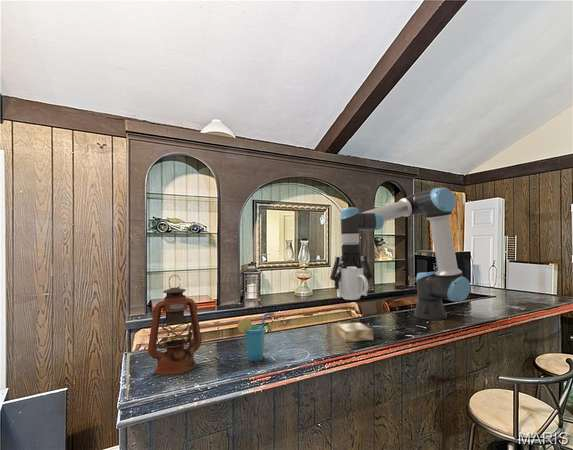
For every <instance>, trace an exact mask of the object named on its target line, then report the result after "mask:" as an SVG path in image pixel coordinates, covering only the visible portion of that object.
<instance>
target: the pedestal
mask: <svg viewBox="0 0 573 450" xmlns="http://www.w3.org/2000/svg"><path fill="white" fill-rule="evenodd" d="M334 334H335V335H336V336H337V337H338V338H340V339H341V340H342V341H344V342H345V343H351V342H359V341H360V342H361V341H363V342H364V341H372V340H373V341H374V329H373V328H371V327H369V326H367V325H366V324H364V323H362V322H349V323H337V324H336V323H335V324H334Z"/></svg>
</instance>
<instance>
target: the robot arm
mask: <svg viewBox="0 0 573 450" xmlns="http://www.w3.org/2000/svg"><path fill="white" fill-rule="evenodd" d="M456 205H457V200H456V196H455V194H454V193H453V191H451V190H450V189H449V188H447V187H435V188H431V189H427V190H421V191H418V192H415V193H412V194H411V195H408V196H406V197H403V198H400V199H399V200H398V201H396V202H392V203H390V204H387V205H383V206H382V205H381V206H379V207H376V208H373V209H369V210H366V211H362V212H360V211H359V209H358V207H353V206H352V207H343V208H341V210H340V217H339V219H340V229H341V230H340V235H341V236H340V238H341V241H340V242H341V244H342V245H341V256H334V264H333V267H332V270H331V273H330V277H329V279H330V280H331V281H333V282H334V289H335V290H336V297H337V298H342V296H341V282H340V281H339V279H340V278H341V271H340V272H338V273H337V270H338V268H339V267H341V268H340V269H346V268H347V267H356V268H357V269H358V268H363V274H364V276H365V277H366V279H367V281H368V282H369V281H370V279H372V278H373V276H374V275H373V274H372V270H371V268H370V266H369V263H368V256H367V255H362V256H361V255H360V253H361V251H360V248H361V247H360V244H359V243H360V231H377V230H378V231H379V230H382V228H383V227H384V224H385V222H387V221H391V220H394V219H398V218H401V217H407V218H408V217H410V216H417V215H419V216H420V215H425V216H424V217H425V219H426V220H428V221H429V224H430V225H429V226H430V230H431V237H432V243H433V248H434V255H435V260H436V266H437V270H436V271H429V272H428V271H426V272H418V273H417V274H416V293H417V302H416V305H415V308H414V317H415V318H418V319H423V320H430V321H438V320H439V321H440V320H445V319H447V312H446V308H445V305H444V303H443V300H447V301H450V302H458V303H459V302H463V301H464V300H465V299H467V298H468V296H469V294H470V292H471V282H470V280H468V278H467V277H465V276H463V271H462V270H461V269H460V268H458V262H457V256H456V250H455V243H454V240H453V233H452V226H451V222H450V218H451V217H452V215H453V210H454V209H455V208H456ZM360 261H361V263H362V265H361V263H360ZM341 262H342V263H341ZM340 263H341V265H340ZM364 289H365V284H364V285H363V291H362V293H363V292H364ZM363 296H364V297H367V296H368V292H367V293H366V294H364V295H363Z"/></svg>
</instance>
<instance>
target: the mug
mask: <svg viewBox="0 0 573 450" xmlns="http://www.w3.org/2000/svg"><path fill="white" fill-rule="evenodd" d="M340 268H341V266H338V270H337V273H338V272H340V271H341V278H340V279H339V281H340V282H341V298H343V299H344V300H346V301H349V300H350V301H353V300H354V301H355V300H360V298H361V296H364V294H366V293H367V294H368V292H369V291H368V290H369V280H368V281H367V279H366V277H365V276H364V274H363V270H364V267H362V268H358V269H357V268H356V266H347V268H346V269H340ZM337 273H336V274H337ZM364 284H365V289H364V292H363V293H362V291H363V285H364Z"/></svg>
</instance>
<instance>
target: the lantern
mask: <svg viewBox="0 0 573 450" xmlns="http://www.w3.org/2000/svg"><path fill="white" fill-rule="evenodd" d="M173 277H178V279H179V280H181V278H180V277H179V275H177V274H173V275H171V276H170V277H169V279H168V286H169V288H168V289H167V288H166V289H164V290H162V293H163V294H166V296H165V297H164V298H163V300H161V301H158V302H157V303H156V304H155V306H154V308H153V309H152V311H151V316H152V317H151V318H152V321H151V327H150V330H149V331H150V333H149V339H148V345H147V350H148V351H147V353H148V355H149V356H150V357H151V358H152V359H154V360H156V365H155V368H154V373H155V374H157V375H159V376H177V375H182V374H185V373H188V372H190V371H192V370H194V369H195V368H196V367H197V362H196V361H195V352H197V351H198V350H199V349H200V347H201V346H202V345H201V344H202V342H203V341H202V334H201V328H200V327H201V326H200V323H199V322H200V321H199V315H198V311H197V309H198V305H197V304H196V302H195V300H194V299H193V298H188V297H187V296H186V295H185V294H184V293H185V292H186V290H187V289H185V288H180V287H181V284H179V286H177V287H171V285H170V284H171V283H170V279H171V278H173ZM188 309H189V314H190V315H189V316H190V324H189V323H187V320H188V319H187V317H186V316H185V311H187V310H188ZM162 313H165V318H164V319H163V321H162V322H163V324H161V327H160V321H161V317H162V316H161V315H162ZM180 323H181V324H180ZM165 324H167V325H165ZM169 324H170V325H171V324H173V325H174V324H178V325H177V326H175V327H171V326H169ZM179 324H180V325H179ZM183 325H187V326H186V327H185V328H184V330H183V331H182V332H181V333H179V332H178V333H176V332H177V331H176V329H177V328H179V327H181V326H183ZM159 328H161V329H162V330H163V331H165V332H167V334H166V336H165V339H164V340H163V343H162V345H161V344H160V341H159V339H158V337H159V335H158V334H159V330H160V329H159ZM168 328H169V329H170V330H169V329H168ZM187 330H188V331H187ZM173 331H174V332H173ZM185 331H187V332H188V333H187V335H186V339H185V338H184V336H183V334H184V333H185ZM169 334H172V335H174V336H175V337H174V338H172V339H171V340H168V341H166V339H167V336H169ZM178 337H179V339H177V338H178ZM187 344H188V347H185V345H187ZM157 346H158V348H159V349H165V350H166V351H158V349H157Z"/></svg>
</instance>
